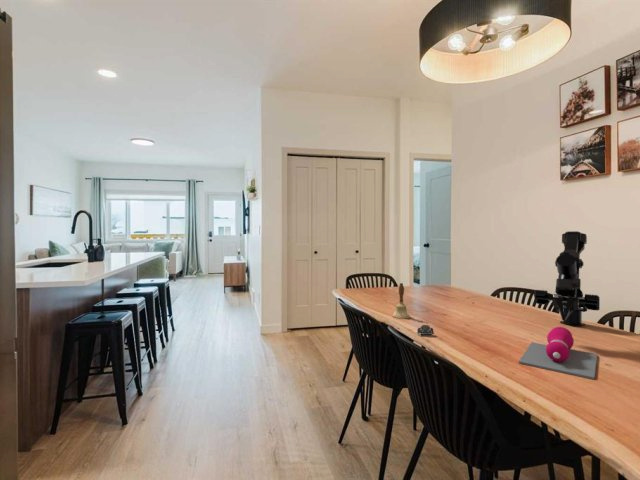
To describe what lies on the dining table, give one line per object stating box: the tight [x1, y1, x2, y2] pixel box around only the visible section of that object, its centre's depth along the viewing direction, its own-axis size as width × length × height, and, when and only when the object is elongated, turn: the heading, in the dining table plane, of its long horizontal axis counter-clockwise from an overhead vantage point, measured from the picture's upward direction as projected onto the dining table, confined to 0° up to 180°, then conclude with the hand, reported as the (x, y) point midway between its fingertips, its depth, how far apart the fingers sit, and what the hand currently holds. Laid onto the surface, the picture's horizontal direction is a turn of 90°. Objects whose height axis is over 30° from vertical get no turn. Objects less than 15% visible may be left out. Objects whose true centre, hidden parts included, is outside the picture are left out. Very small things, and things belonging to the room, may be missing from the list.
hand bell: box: [392, 282, 411, 319], centre depth 161 cm, size 8×8×16 cm
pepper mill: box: [546, 326, 575, 362], centre depth 108 cm, size 7×7×20 cm
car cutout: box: [416, 324, 435, 336], centre depth 132 cm, size 15×7×4 cm, turn 86°
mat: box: [518, 341, 598, 380], centre depth 107 cm, size 22×18×1 cm
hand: (563, 319), depth 117 cm, fingers closed
